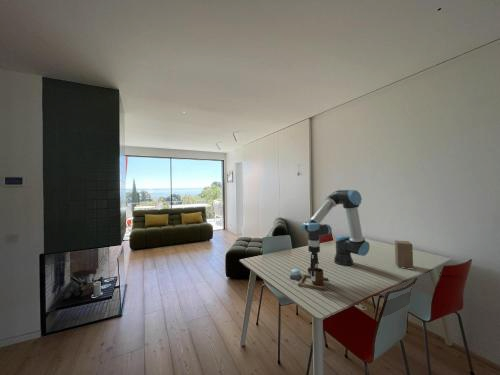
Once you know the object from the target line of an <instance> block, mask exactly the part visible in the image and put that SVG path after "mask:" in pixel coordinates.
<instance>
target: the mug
mask: <svg viewBox="0 0 500 375" xmlns="http://www.w3.org/2000/svg"><path fill="white" fill-rule="evenodd" d="M307 273H308V275H311V271H310V267H308V268H307ZM323 277H324V269H323V268H319V267H318V268H315V281H311V283H312V285H315V286H321V287H323V286H324V284H325V283H324V282H325V280H323Z"/></svg>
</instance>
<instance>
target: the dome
mask: <svg viewBox="0 0 500 375" xmlns="http://www.w3.org/2000/svg"><path fill="white" fill-rule="evenodd" d="M291 273H292V275H293V276H300V273H301V270H300V269H298V268H293V269H291Z"/></svg>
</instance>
